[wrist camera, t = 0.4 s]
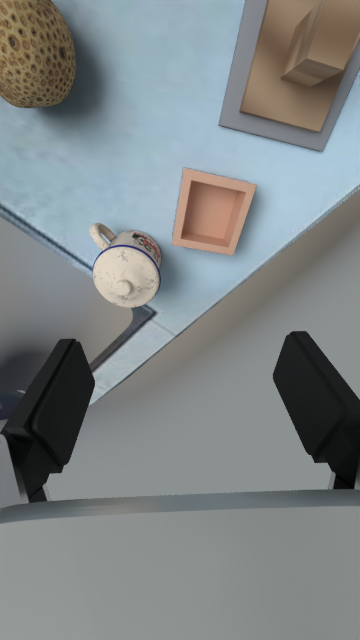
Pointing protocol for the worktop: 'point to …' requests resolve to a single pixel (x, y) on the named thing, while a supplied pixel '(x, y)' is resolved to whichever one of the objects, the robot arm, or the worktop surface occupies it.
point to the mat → (239, 78)
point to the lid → (300, 60)
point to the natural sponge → (35, 54)
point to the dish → (211, 211)
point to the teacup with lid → (126, 266)
